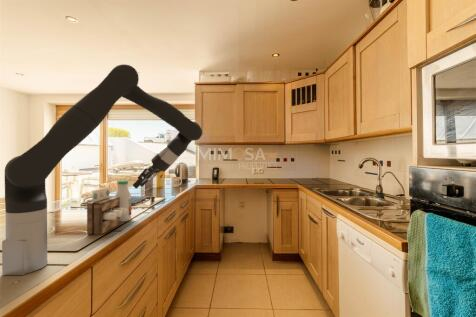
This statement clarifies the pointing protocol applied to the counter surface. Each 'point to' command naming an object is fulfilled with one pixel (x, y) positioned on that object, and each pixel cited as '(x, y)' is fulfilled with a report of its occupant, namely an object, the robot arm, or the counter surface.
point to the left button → (109, 216)
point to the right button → (124, 210)
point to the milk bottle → (124, 199)
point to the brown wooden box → (95, 215)
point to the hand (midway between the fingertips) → (137, 185)
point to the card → (100, 194)
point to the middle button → (118, 212)
